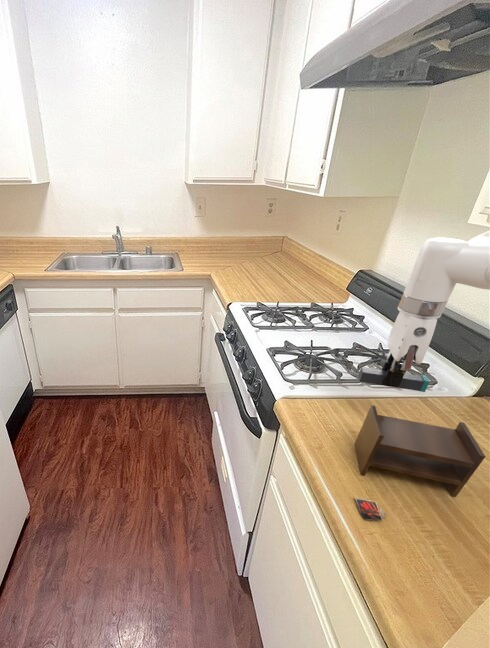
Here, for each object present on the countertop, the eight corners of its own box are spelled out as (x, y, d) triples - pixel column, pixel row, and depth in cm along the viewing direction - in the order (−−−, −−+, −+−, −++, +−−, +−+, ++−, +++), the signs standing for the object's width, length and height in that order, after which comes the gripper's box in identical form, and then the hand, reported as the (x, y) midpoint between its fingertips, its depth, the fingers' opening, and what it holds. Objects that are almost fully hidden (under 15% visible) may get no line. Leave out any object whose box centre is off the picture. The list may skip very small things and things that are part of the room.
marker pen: (421, 385, 79) (426, 375, 77) (424, 392, 77) (430, 381, 75) (357, 376, 82) (361, 365, 81) (359, 382, 80) (363, 371, 79)
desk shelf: (439, 461, 75) (464, 422, 69) (455, 497, 67) (485, 456, 61) (354, 443, 79) (371, 405, 73) (360, 475, 71) (379, 435, 65)
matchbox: (365, 522, 62) (366, 520, 62) (350, 498, 66) (350, 497, 66) (389, 520, 62) (390, 519, 62) (373, 497, 66) (373, 495, 66)
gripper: (457, 322, 62) (416, 405, 72) (430, 294, 75) (398, 368, 85) (410, 317, 64) (376, 398, 74) (392, 291, 77) (365, 363, 87)
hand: (388, 381), depth 79 cm, fingers closed on marker pen, 2 cm apart
